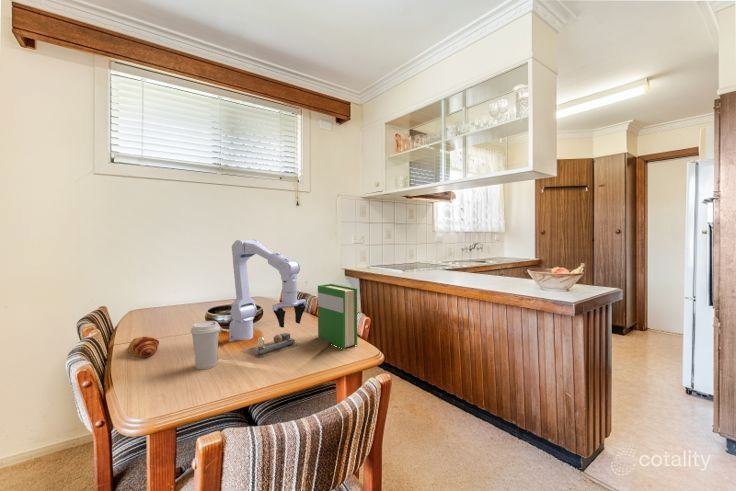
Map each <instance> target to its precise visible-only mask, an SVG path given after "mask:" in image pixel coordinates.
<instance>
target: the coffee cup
mask: <svg viewBox="0 0 736 491" xmlns="http://www.w3.org/2000/svg"><path fill="white" fill-rule="evenodd" d="M220 330H221V325H220V324H219V322H218V321H215V320H205V321H200V322H196V323H193V325H192V327H191V328H190V331H189V332H190V334H191V336H192V344H193V345H192V346H193V351H194V361H195V368H196V370H210V369H213V368H214V367H216V366H217V363H218V362H217V361H218V350H219V349H218V348H219V337H220V336H219V333H220Z"/></svg>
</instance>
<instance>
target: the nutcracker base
mask: <svg viewBox="0 0 736 491" xmlns="http://www.w3.org/2000/svg"><path fill="white" fill-rule="evenodd" d="M279 335H281V336H282V338H283V339H282V341H285V340H287V339H288V338H291V333H288V332H283V333H280V334H279ZM273 344H276V343H275V342H274V340H273V341H270V342H266V343H264V347H266V346H269V345H273ZM297 346H301V343H300V342H297V341H295V343H294V344H291V345H288V346H285V347H281V348H278V349H275V350H272V351H269V352H266V353H263V354H258V350H257V349H258V345H256V346H253V347H250V348H247V349H243V350H241V352H242V353H245V354H247V355H249V356H251V357H254V358H256V359H262V358H264V357H267V356H271V355H274V354H277V353H280V352H282V351H285V350H286V351H287V350H288V349H291V348H294V347H297Z"/></svg>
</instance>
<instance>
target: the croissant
mask: <svg viewBox="0 0 736 491" xmlns="http://www.w3.org/2000/svg"><path fill="white" fill-rule="evenodd" d="M159 344H160V341H159V339H157V338H156V337H155V336H154V337H153V336H147V335H146V336H139V337H136V338H134V339H132V340H131V341H130V343H129V344H128V347H127V353H128V354H130V355H132V356H133V357H140V358H149V357H151V356H154V355H155V354H156V353H157V351H158V348H159V346H160V345H159Z"/></svg>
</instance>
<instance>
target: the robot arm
mask: <svg viewBox="0 0 736 491" xmlns="http://www.w3.org/2000/svg"><path fill="white" fill-rule="evenodd" d="M231 252H232V264H233V265H232V266H233V268H232V269H233V275H234V287H235V288H234V289H235V297H236V299H235V300H234V301H233V302H232V303H231V310H230V317H231V319H232V320H231V321H230V323H229V326H228V327H229V328H228V330H229V333H228V334H229V339H228V340H227V341H228V342H234V341H246V340H251V339H253V338H254V319H255V316H256V315H257V312H258V308H257V306H256V303H255V302H256V301H255V300H254V299H253V298H252V297H251V295H250V288H249V277H248V276H249V275H248V267H247V261H248V260H250V258H251V257H253V256H255V255H258V256H260V257H261V258H263V259H266V260H267V263H268V264H269V266H270V267H272V268H274V269H276V270H278V272H279V275H280V279H281V282H282V285H281V288H282V290H281V291H282V292H281V294H282V297H281V298H282V302H278V303H275V304H272V306H271V308H272V310H273V314H275V316H276V319H277V322H278V326H279V328H282V329H283V328H285V316H286V310H284V309H287V308H292V307H293V309H294V316H295V317H294V318H295V324H301V321H302V316H303V314H304V311H305V310H306V305H307V299H298V274H299V273H300V271H301V266H300V264H299V262H298V261H296V260H290V259H289V258H288V257H285V256H283V255H282V253H281V252H279V251H275V252H272V251H271V250H269V249H268V248H266V247H265V246H264V245H263V244H261V242H260V241H258V240H257V239H241V240H240V239H237V240H235V241H234V243H232V245H231Z"/></svg>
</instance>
